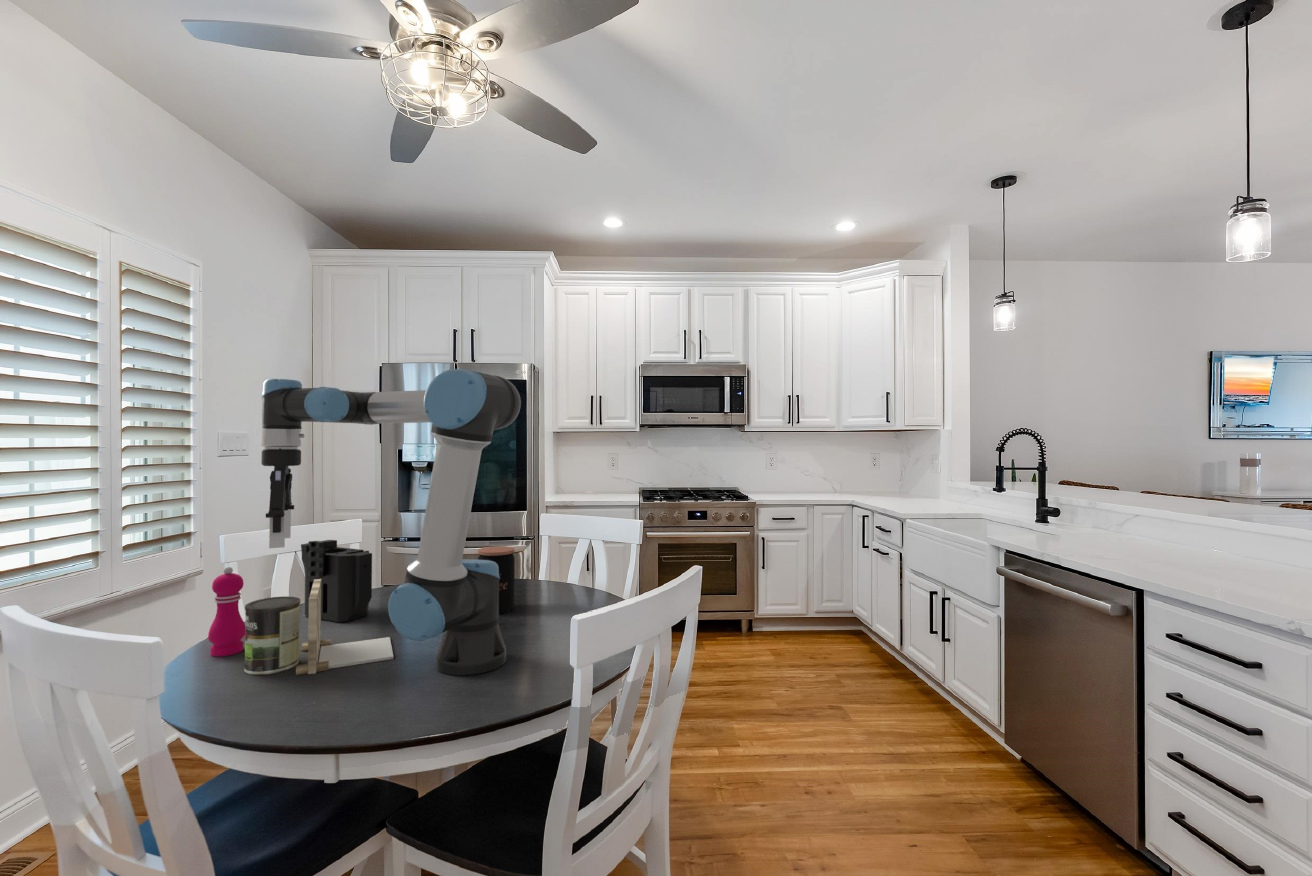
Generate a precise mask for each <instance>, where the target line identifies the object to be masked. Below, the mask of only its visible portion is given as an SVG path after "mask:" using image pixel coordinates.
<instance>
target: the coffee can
mask: <svg viewBox="0 0 1312 876" xmlns="http://www.w3.org/2000/svg"><path fill="white" fill-rule="evenodd" d="M300 604H301V598H300V597H296V596H274V597H273V596H272V597H266V598H261V599H256V600H254V601H251V602H248V603H246V604H245V605H244V610H245V618H244V619H245V622H244V623H245V636H244V673H245V674H248V675H252V676H253V675H254V676H262V675H271V674H276V673H281V672H283V671H288V670H290V669H292V668H294V667H297V665H298V664H299V662H300V657H299V654H300V612H301V611H300V610H301V609H300V608H301V607H300Z"/></svg>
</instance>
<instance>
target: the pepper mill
mask: <svg viewBox="0 0 1312 876" xmlns="http://www.w3.org/2000/svg"><path fill="white" fill-rule="evenodd" d="M233 571H234V570H233V568H232V567H231V566H227V567H225V568H224V569H223V574H220V575H217V577H216V578H214V579H213V582H212V585H211V589H212V592H213V593H215V595H214V603H216V614H215V617H214V619H213V621H212V624H211V625H210V627H209V630H208V634H207V638H208V641H209V642H211V644H213V645H212V646H210V656H212V657H218V658H219V657H220V658H221V657H227V656H228V657H229V656H233V655H235V654H239V653H241V652H242V651H244V641H243V640H242V639H243V638H245V622H244V620H243V618H242V616H241V614H240V609H239V600H241V599H242V597H241V595H242V593H241V592H240V591H241V590H243V589H242V588H244V579H243V577H242V576H241V575H240V574H237V573H233Z"/></svg>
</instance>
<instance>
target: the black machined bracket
mask: <svg viewBox="0 0 1312 876" xmlns="http://www.w3.org/2000/svg"><path fill="white" fill-rule="evenodd" d="M300 547H301V548H300V549H301V562H302V564H303V570H304V613H303V614H304V615H305V617H308V618H309V596H310V593H311V589H312V585H313V582H314V580H316V579H321V620H323V621H330V622H334V623H348V622H351V621H354V620H357V619H360V618H362V617H364V618H365V617H367V616H368V615H369V610H370V609H369V605H370V602H371V599H372V597H373V594H372V593H373V592H372V591H373V590H372V589H373V588H372V587H373V586H372V583H373V553H372V552H370V550H364V549H359V548H349V547H339V546H338V540H337V539H325V540H309V541H308V543H303V544H302V543H301V544H300Z"/></svg>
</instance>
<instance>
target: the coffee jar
mask: <svg viewBox="0 0 1312 876" xmlns="http://www.w3.org/2000/svg"><path fill="white" fill-rule="evenodd" d="M515 551H516V549H515V548H514V547H512V546H508V545H507V546H505V545H501V546H500V545H495V546H492V545H491V546H485V547H481V548H478V549H477V554H478V555H479V556H478V557H477V560H489V561H493V562H496V563H497V565H498V567H499V576H500V579H499V613H502V614H504V613H503V612H506V613H508V612H507V611H509V610H511V609H512V610H513V608H514V607H515V573H516V572H515V564H516V563H515V555H514V552H515ZM512 610H511V611H512ZM509 612H510V611H509Z"/></svg>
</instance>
